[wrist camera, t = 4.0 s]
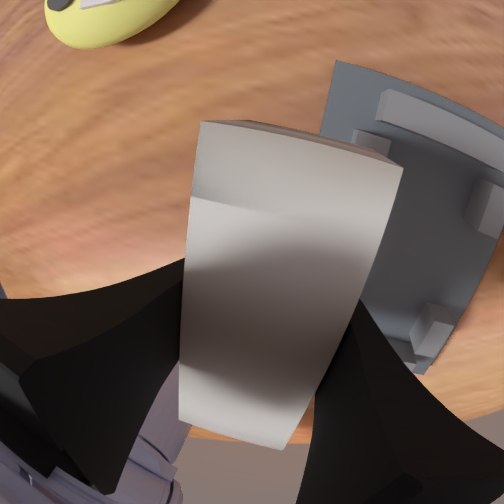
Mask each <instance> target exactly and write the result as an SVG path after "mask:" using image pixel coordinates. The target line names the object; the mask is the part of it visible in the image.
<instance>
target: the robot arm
mask: <svg viewBox="0 0 504 504" xmlns="http://www.w3.org/2000/svg"><path fill="white" fill-rule="evenodd" d="M184 264H185V258H183V259H180V260H178V261H176V262H173V263H171V264H168V265H166V266H164V267H161V268H159V269H156V270H154V271H151V272H149V273H146V274H143V275H140V276H137V277H135V278H132V279H129V280H126V281H123V282H120V283H117V284H114V285H110V286H106V287H102V288H99V289H95V290H90V291H85V292H80V293H74V294H68V295H62V296H55V297H45V298H31V299H0V504H182V503H183V493H182V490H181V486H180V483H179V482H178V481H177V480H175V479H173V478H174V476H175V474H176V472H177V468H176V467H175V466H173V465H172V464H173V463H174V462H175V461H176V459H177V457H178V455H179V453H180V451H181V448H182V446H183V444H184V442H185V440H186V438H187V436H188V433H189V431H190V429H191V427H192V424H189V423H186V422H183V421H181V420H179V355H180V329H181V309H182V292H183V278H184ZM503 493H504V450H503V449H501V448H499V447H498V446H496V445H495V444H493V443H492V442H490V441H489V440H487V439H486V438H484V437H483V436H481V435H479V434H478V433H477V432H475V431H474V430H473V429H471V428H470V427H469V426H467V425H466V424H465V423H464V422H462V421H461V420H460V419H459V418H457V417H456V416H455V415H454V414H453V413H452V412H450V411H449V410H448V409H447V408H446V407H445V406H444V405H443V404H442V403H441V402H440V401H439V400H437V399H436V398H435V397H434V396H433V395H432V394H431V393H430V392H429V391H428V390H427V389H426V388H425V387H424V385H423V384H422V383H421V382H420V381H419V380H418V379H417V378H416V376H415V375H414V374H413V373H412V372H411V371H410V370H409V368H408V367H407V366H406V365H405V363H404V362H403V361H402V360H401V358H400V357H399V355H398V354H397V353H396V351H395V350H394V349H393V347H392V346H391V345H390V343H389V342H388V340H387V339H386V337H385V336H384V335H383V333H382V332H381V330H380V329H379V327H378V325H377V324H376V322H375V321H374V319H373V318H372V316H371V315H370V313H369V311H368V310H367V308H366V307H365V305H364V304H363V302H362V301H361V299H360V298H359V300H358V302H357V305H356V307H355V310H354V312H353V314H352V317H351V319H350V321H349V323H348V326H347V328H346V330H345V332H344V335H343V337H342V339H341V341H340V343H339V346H338V348H337V350H336V352H335V354H334V356H333V358H332V360H331V362H330V364H329V366H328V369H327V371H326V373H325V375H324V377H323V379H322V380H321V382H320V384H319V386H318V388H317V390H316V392H315V407H314V423H313V432H312V439H311V444H310V448H309V453H308V458H307V463H306V467H305V471H304V475H303V479H302V483H301V487H300V491H299V494H298V497H297V501H296V504H490V503H492V502H493V501H495V500H496V499H497V498H499V497H500V496H501V495H502V494H503Z"/></svg>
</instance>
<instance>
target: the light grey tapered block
mask: <svg viewBox="0 0 504 504" xmlns="http://www.w3.org/2000/svg"><path fill="white" fill-rule="evenodd" d="M403 169H404V168H402V167H401V166H399V165H398V164H396V163H394V162H393V161H391V160H390V159H388V158H386V157H385V156H383V155H381V154H380V153H378V152H376V151H374V150H373V149H370V148H366V147H363V146H359V145H356V144H352V143H349V142H345V141H341V140H338V139H334V138H330V137H326V136H322V135H318V134H314V133H310V132H306V131H301V130H297V129H292V128H288V127H283V126H278V125H273V124H268V123H263V122H257V121H251V120H212V121H201V125H200V132H199V138H198V145H197V153H196V160H195V168H194V176H193V184H192V192H191V201H190V210H189V220H188V230H187V241H186V252H185V264H184V278H183V292H182V309H181V329H180V355H179V420H181V421H183V422H186V423H189V424H192V425H195V426H197V427H200V428H203V429H206V430H209V431H212V432H215V433H219V434H222V435H225V436H228V437H232V438H235V439H239V440H242V441H246V442H250V443H253V444H257V445H261V446H265V447H269V448H274V449H278V450H283V449H284V447H285V445H286V444H287V442H288V440H289V439H290V437H291V435H292V434H293V432H294V430H295V429H296V427H297V425H298V423H299V422H300V420H301V418H302V416H303V414H304V413H305V411H306V409H307V407H308V405H309V403H310V402H311V400H312V398H313V396H314V394H315V392H316V390H317V388H318V386H319V384H320V382H321V380H322V379H323V377H324V375H325V373H326V371H327V369H328V366H329V364H330V362H331V360H332V358H333V356H334V354H335V352H336V350H337V348H338V346H339V343H340V341H341V339H342V337H343V335H344V332H345V330H346V328H347V326H348V323H349V321H350V319H351V317H352V314H353V312H354V310H355V307H356V305H357V302H358V300H359V298H360V295H361V293H362V290H363V288H364V285H365V283H366V280H367V278H368V275H369V272H370V270H371V267H372V264H373V262H374V259H375V256H376V254H377V251H378V248H379V245H380V242H381V239H382V237H383V234H384V231H385V228H386V225H387V222H388V219H389V216H390V213H391V209H392V206H393V203H394V200H395V196H396V193H397V190H398V186H399V183H400V179H401V176H402V172H403Z"/></svg>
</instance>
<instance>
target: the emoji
mask: <svg viewBox="0 0 504 504" xmlns="http://www.w3.org/2000/svg"><path fill="white" fill-rule="evenodd" d="M178 2H179V0H45V15H46V20H47V24H48V26H49V28H50V30H51V32H52V33H53V34H54V35H55V36H56V37H57V38H58V39H59V40H60V41H61V42H63V43H64V44H66V45H68V46H71V47H73V48H78V49H98V48H102V47H107V46H110V45H113V44H116V43H118V42H121V41H123V40H125V39H127V38H129V37H131V36H133V35H135V34H137V33H139V32H141V31H142V30H144V29H146V28H147V27H149V26H151V25H152V24H154V23H155V22H156V21H157V20H159V19H160V18H161V17H163V16H164V15H165V14H166V13H167V12H168V11H169V10H170V9H172V8H173V7H174V6H175V5H176V4H177V3H178Z"/></svg>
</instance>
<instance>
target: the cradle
mask: <svg viewBox="0 0 504 504" xmlns="http://www.w3.org/2000/svg"><path fill="white" fill-rule="evenodd" d="M319 135H322V136H326V137H330V138H334V139H338V140H341V141H345V142H349V143H352V144H356V145H359V146H363V147H366V148H370V149H373V150H374V151H376V152H378V153H380V154H381V155H383V156H385V157H386V158H388V159H390V160H391V161H393V162H394V163H396V164H398V165H399V166H401V167H402V168H404V169H403V172H402V176H401V179H400V183H399V186H398V190H397V193H396V196H395V200H394V203H393V206H392V209H391V213H390V216H389V219H388V222H387V225H386V228H385V231H384V234H383V237H382V239H381V242H380V245H379V248H378V251H377V254H376V256H375V259H374V262H373V264H372V267H371V270H370V272H369V275H368V278H367V280H366V283H365V285H364V288H363V290H362V293H361V295H360V299H361V301H362V302H363V304H364V305H365V307H366V308H367V310H368V311H369V313H370V315H371V316H372V318H373V319H374V321H375V322H376V324H377V325H378V327H379V329H380V330H381V332H382V333H383V335H384V336H385V337H386V339H387V340H388V342H389V343H390V345H391V346H392V347H393V349H394V350H395V351H396V353H397V354H398V355H399V357H400V358H401V360H402V361H403V362H404V363H405V365H406V366H407V367H408V368H409V370H410V371H411V372H412V373H416V374H422V375H424V373H425V372H426V371H427V369H428V368H429V366H430V365H431V363H432V362H433V360H434V359H435V358H436V356H437V355H438V353H439V352H440V350H441V348H442V347H443V345H444V344H445V342H446V341H447V339H448V338H449V336H450V334H451V333H452V331H453V329H454V328H455V326H456V324H457V323H458V321H459V319H460V318H461V316H462V314H463V312H464V311H465V309H466V307H467V305H468V303H469V301H470V300H471V298H472V296H473V294H474V292H475V290H476V288H477V286H478V284H479V282H480V280H481V278H482V276H483V274H484V272H485V270H486V268H487V265H488V263H489V261H490V259H491V257H492V254H493V252H494V250H495V247H496V245H497V243H498V240H499V238H500V235H501V233H502V230H503V228H504V128H502V127H501V126H499V125H497V124H495V123H494V122H492V121H490V120H488V119H486V118H485V117H483V116H481V115H479V114H477V113H475V112H473V111H471V110H469V109H467V108H465V107H463V106H461V105H459V104H457V103H455V102H453V101H451V100H448V99H446V98H444V97H442V96H440V95H437V94H435V93H433V92H430V91H428V90H425V89H423V88H420V87H418V86H415V85H413V84H410V83H408V82H405V81H402V80H399V79H397V78H394V77H391V76H388V75H385V74H382V73H379V72H376V71H373V70H369V69H366V68H363V67H359V66H356V65H352V64H349V63H345V62H341V61H337V60H336V62H335V66H334V71H333V76H332V81H331V85H330V90H329V94H328V99H327V104H326V108H325V112H324V117H323V121H322V126H321V130H320V134H319Z"/></svg>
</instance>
